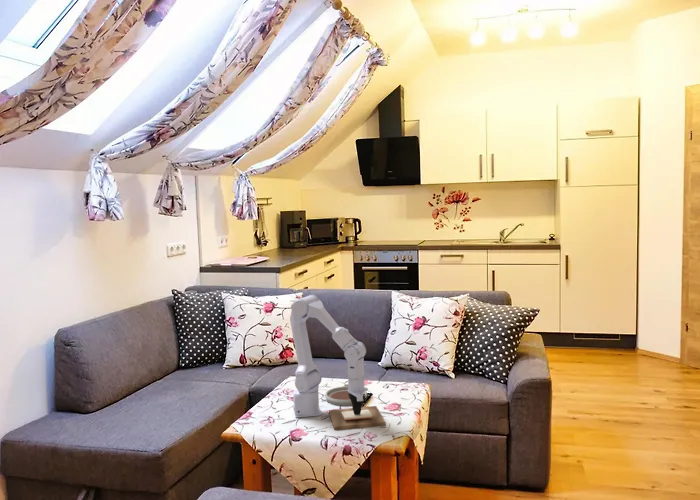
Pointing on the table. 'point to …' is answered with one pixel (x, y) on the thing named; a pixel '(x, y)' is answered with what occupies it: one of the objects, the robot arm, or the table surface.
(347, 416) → the tile
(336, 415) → the board
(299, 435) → the table surface
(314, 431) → the table surface
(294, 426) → the table surface
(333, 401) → the frying pan
